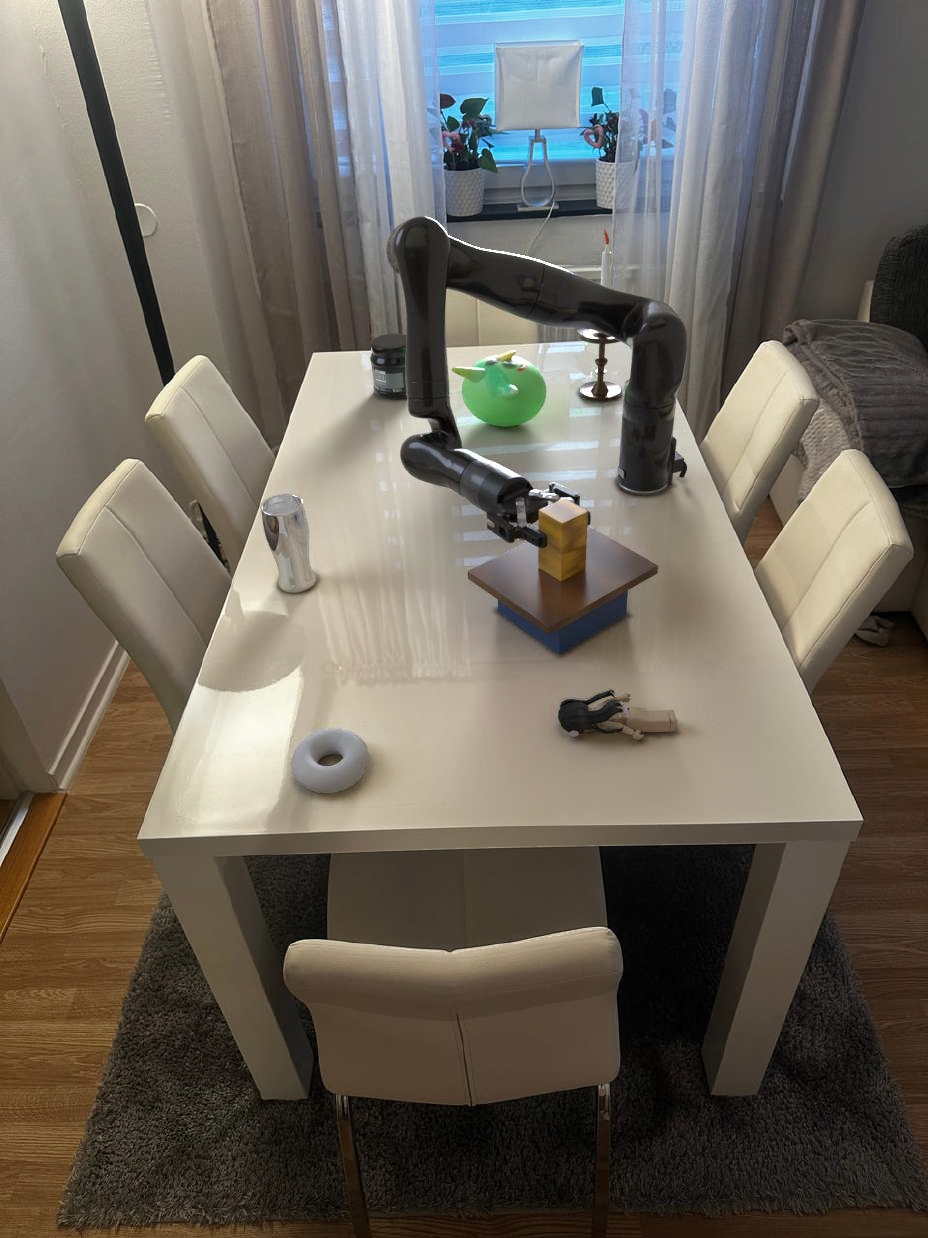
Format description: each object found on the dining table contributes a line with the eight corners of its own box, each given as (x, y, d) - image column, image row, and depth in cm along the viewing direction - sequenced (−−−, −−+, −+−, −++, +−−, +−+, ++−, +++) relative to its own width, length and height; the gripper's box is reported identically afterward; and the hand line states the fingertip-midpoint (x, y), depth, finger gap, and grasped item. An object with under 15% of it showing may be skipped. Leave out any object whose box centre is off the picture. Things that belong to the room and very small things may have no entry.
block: (562, 554, 135) (564, 497, 129) (585, 568, 132) (588, 510, 126) (538, 567, 133) (538, 509, 127) (561, 582, 130) (562, 523, 124)
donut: (282, 794, 112) (358, 803, 110) (276, 776, 110) (354, 784, 108) (308, 737, 119) (380, 745, 118) (304, 719, 117) (376, 726, 115)
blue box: (563, 576, 146) (564, 540, 141) (626, 615, 137) (629, 578, 132) (497, 610, 139) (496, 574, 135) (559, 654, 130) (560, 616, 126)
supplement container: (419, 380, 210) (415, 330, 203) (419, 399, 202) (415, 348, 195) (375, 383, 210) (369, 333, 203) (372, 402, 202) (366, 351, 195)
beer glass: (325, 573, 149) (311, 495, 140) (306, 597, 144) (291, 518, 135) (288, 567, 151) (272, 490, 142) (268, 590, 146) (250, 512, 137)
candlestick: (565, 394, 200) (569, 230, 179) (594, 379, 206) (601, 218, 185) (605, 407, 194) (614, 239, 173) (633, 390, 200) (646, 226, 179)
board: (573, 525, 144) (574, 517, 144) (657, 573, 133) (658, 565, 132) (467, 579, 134) (467, 570, 133) (549, 635, 123) (549, 627, 122)
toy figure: (659, 701, 122) (552, 710, 120) (667, 670, 117) (556, 680, 116) (674, 743, 117) (562, 753, 115) (683, 713, 112) (567, 723, 111)
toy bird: (558, 415, 192) (560, 348, 183) (520, 447, 181) (519, 378, 172) (487, 399, 200) (485, 335, 191) (446, 429, 189) (442, 362, 180)
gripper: (457, 484, 133) (530, 527, 122) (529, 452, 139) (604, 491, 129) (460, 527, 137) (531, 571, 127) (529, 494, 144) (601, 534, 134)
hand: (567, 531), depth 128 cm, fingers open, 8 cm apart
